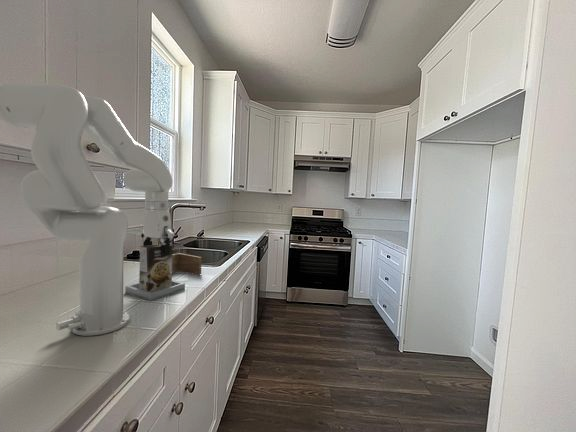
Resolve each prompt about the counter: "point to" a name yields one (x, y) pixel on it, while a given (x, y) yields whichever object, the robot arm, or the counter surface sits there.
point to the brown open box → (186, 263)
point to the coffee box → (154, 268)
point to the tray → (155, 295)
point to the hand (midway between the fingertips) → (156, 253)
